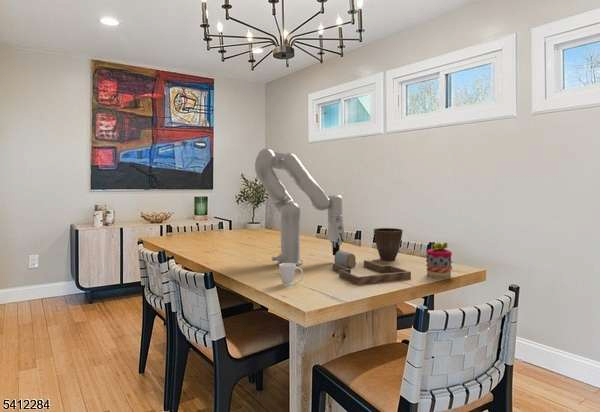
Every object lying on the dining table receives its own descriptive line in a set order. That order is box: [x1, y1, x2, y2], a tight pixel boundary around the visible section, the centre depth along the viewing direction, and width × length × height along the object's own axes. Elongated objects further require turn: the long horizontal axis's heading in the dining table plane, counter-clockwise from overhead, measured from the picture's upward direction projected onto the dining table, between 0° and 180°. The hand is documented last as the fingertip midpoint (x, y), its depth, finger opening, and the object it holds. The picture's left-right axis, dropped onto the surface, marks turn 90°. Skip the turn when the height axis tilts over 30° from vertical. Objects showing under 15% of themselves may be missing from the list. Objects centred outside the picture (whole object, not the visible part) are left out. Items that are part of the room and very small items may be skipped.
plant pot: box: [373, 227, 403, 262], centre depth 208 cm, size 15×15×16 cm
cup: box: [278, 263, 304, 287], centre depth 157 cm, size 7×10×8 cm
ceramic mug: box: [334, 249, 357, 269], centre depth 192 cm, size 11×8×8 cm
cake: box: [425, 242, 453, 279], centre depth 171 cm, size 10×11×15 cm
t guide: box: [332, 260, 412, 286], centre depth 174 cm, size 26×29×3 cm
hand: (336, 255), depth 201 cm, fingers closed
